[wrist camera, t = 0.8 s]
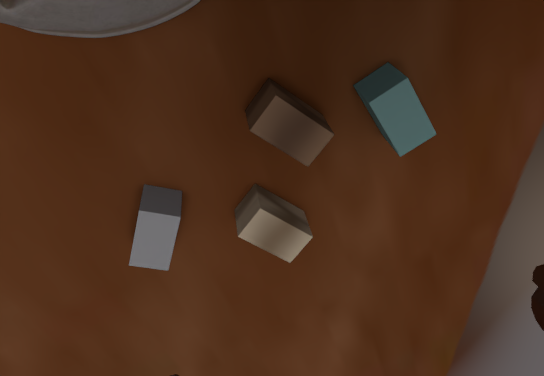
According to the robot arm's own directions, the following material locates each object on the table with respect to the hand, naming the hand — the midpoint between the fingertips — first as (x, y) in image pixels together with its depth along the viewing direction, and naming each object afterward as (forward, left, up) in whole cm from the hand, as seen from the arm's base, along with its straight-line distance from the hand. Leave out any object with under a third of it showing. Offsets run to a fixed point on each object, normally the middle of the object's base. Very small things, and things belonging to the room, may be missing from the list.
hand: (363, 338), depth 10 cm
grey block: (+19, +3, -32) cm, 37 cm away
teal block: (-2, +14, -32) cm, 35 cm away
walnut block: (+4, +7, -32) cm, 33 cm away
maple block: (+13, +12, -32) cm, 36 cm away
